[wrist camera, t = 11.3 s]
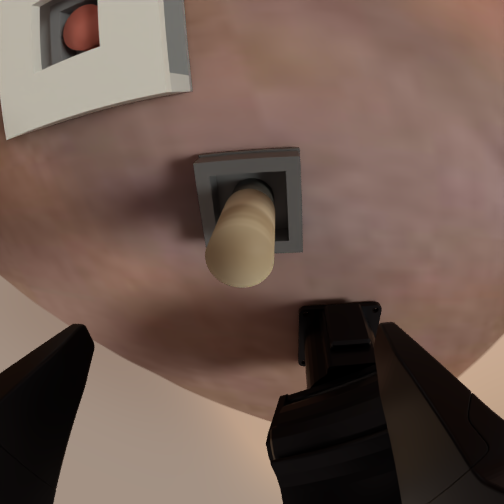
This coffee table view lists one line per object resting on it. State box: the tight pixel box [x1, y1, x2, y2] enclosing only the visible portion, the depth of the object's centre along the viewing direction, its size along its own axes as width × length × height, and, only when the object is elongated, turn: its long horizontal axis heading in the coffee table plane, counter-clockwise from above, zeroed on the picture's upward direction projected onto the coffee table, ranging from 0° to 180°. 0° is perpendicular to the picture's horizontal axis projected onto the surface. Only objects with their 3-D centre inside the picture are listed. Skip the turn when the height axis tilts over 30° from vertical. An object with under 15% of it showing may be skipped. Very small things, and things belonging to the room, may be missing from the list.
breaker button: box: [63, 4, 100, 51], centre depth 13 cm, size 3×3×2 cm
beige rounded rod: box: [205, 178, 275, 288], centre depth 16 cm, size 3×3×8 cm
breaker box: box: [0, 0, 192, 140], centre depth 13 cm, size 11×11×5 cm
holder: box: [193, 147, 303, 253], centre depth 19 cm, size 6×6×2 cm
